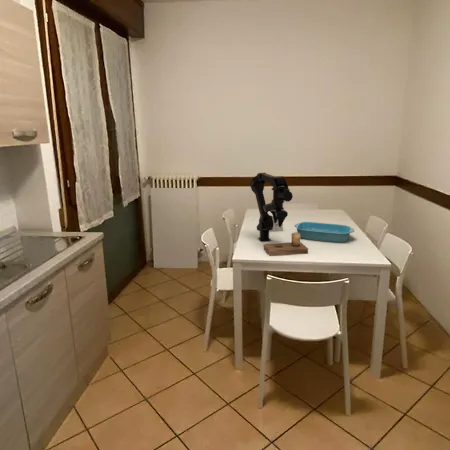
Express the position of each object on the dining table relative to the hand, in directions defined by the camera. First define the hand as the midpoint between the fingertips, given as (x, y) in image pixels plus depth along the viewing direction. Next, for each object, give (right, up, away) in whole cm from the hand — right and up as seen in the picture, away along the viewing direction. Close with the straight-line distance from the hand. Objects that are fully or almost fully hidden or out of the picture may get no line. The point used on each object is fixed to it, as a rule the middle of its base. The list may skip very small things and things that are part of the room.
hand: (277, 224), depth 213 cm
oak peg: (+10, -15, -5) cm, 18 cm away
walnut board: (+4, -15, -6) cm, 17 cm away
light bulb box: (+3, -4, +37) cm, 37 cm away
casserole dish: (+32, -8, +20) cm, 38 cm away
